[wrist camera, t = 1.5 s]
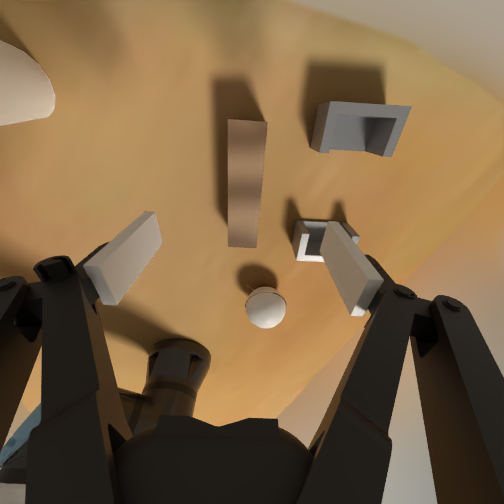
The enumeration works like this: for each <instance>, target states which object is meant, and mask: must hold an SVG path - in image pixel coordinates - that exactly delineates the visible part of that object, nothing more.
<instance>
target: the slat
mask: <svg viewBox="0 0 504 504" xmlns="http://www.w3.org/2000/svg"><path fill="white" fill-rule="evenodd" d="M267 123H268V122H264V121H251V120H238V119H228V247H244V248H256V246H257V235H258V224H259V213H260V202H261V190H262V179H263V168H264V157H265V146H266V134H267Z"/></svg>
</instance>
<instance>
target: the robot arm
mask: <svg viewBox="0 0 504 504" xmlns="http://www.w3.org/2000/svg"><path fill="white" fill-rule="evenodd" d="M161 245H162V239H161V234H160V230H159V225H158V221H157V217H156V212H148V211H145V212H144V213H143V214H142V215H140V216H139V217H138V218H137V219H136V220H135V221H133V222H132V223H131V224H130V225H129V226H128V227H127V228H125V229H124V230H123V231H122V232H121V233H120V234H118V235H117V236H116V237H115V238H114V239H113V240H112V241H110V242H107V243H105V244H103V245H101V246H99V247H98V248H96V249H95V250H94V251H93V252H92V253H90V254H89V255H88V256H87V257H86V258H84V259H83V260H82V261H81V262H80V263H78V264H77V265H76V266H74V265H73V263H72V261H71V259H70V258H69V257H68V256H54V257H50V258H47V259H44V260H42V261H40V262H39V263H37V264H36V265H35V266H34V268H33V269H34V271H35V272H36V274H37V275H38V277H39V278H40V279H41V281H42V282H35V283H28V282H27V281H26V280H25V279H24V278H23V277H21V276H14V277H8V278H3V279H1V280H0V468H1V467H2V468H1V470H0V504H381V502H382V497H383V492H384V487H385V482H386V477H387V472H388V467H389V462H390V457H391V451H392V440H391V439H390V437H389V436H388V430H389V425H390V420H391V416H392V412H393V407H394V403H395V398H396V394H397V389H398V385H399V380H400V376H401V371H402V367H403V362H404V358H405V354H406V350H407V345H408V340H409V336H410V340H411V347H412V353H413V359H414V365H415V371H416V377H417V383H418V389H419V395H420V400H421V406H422V413H423V419H424V425H425V430H426V437H427V443H428V449H429V455H430V461H431V467H432V473H433V479H434V485H435V491H436V497H437V503H438V504H504V377H503V375H502V374H501V372H500V370H499V368H498V366H497V364H496V362H495V360H494V358H493V356H492V354H491V352H490V350H489V348H488V346H487V344H486V342H485V340H484V338H483V336H482V334H481V332H480V330H479V328H478V326H477V324H476V322H475V320H474V318H473V316H472V314H471V313H470V311H469V309H468V308H467V307H466V306H465V305H463V304H462V303H461V302H460V301H458V300H456V299H454V298H451V297H449V296H444V295H438V296H436V297H435V298H434V300H433V301H429V300H425V299H421V298H418V297H417V295H416V294H415V293H414V292H413V291H412V290H411V289H409V288H407V287H405V286H402V285H399V284H396V283H395V282H394V281H393V280H392V279H391V277H390V276H389V275H388V274H387V273H386V272H385V270H384V269H383V268H382V267H381V266H380V264H379V263H378V262H377V261H376V260H375V259H374V258H372V257H371V256H369V255H364V254H363V253H362V251H361V250H360V249H359V248H358V246H357V245H356V244H355V243H354V241H353V240H352V239H351V238H350V236H349V235H348V234H347V232H346V231H345V230H344V229H343V227H342V226H341V225H340V224H339V222H335V221H328V223H327V227H326V230H325V234H324V237H323V241H322V244H321V248H320V253H321V255H322V257H323V259H324V261H325V264H326V266H327V268H328V270H329V272H330V274H331V276H332V278H333V280H334V282H335V284H336V286H337V289H338V291H339V293H340V295H341V297H342V299H343V301H344V303H345V305H346V307H347V309H348V311H349V314H350V316H364V315H365V313H366V311H367V310H369V312H370V313H371V316H370V318H369V320H368V321H367V323H366V325H365V326H364V328H365V329H364V331H363V333H362V335H361V337H360V340H359V342H358V344H357V346H356V348H355V350H354V353H353V355H352V357H351V359H350V361H349V363H348V366H347V368H346V370H345V372H344V374H343V376H342V379H341V381H340V383H339V385H338V387H337V389H336V392H335V394H334V396H333V398H332V401H331V403H330V405H329V407H328V409H327V411H326V413H325V416H324V418H323V420H322V422H321V424H320V426H319V428H318V430H317V432H316V434H315V436H314V438H313V440H312V442H311V444H310V446H309V448H308V449H307V448H306V447H305V445H304V444H302V442H301V441H300V440H298V439H297V438H296V437H295V436H293V435H292V434H291V433H289V432H288V431H286V430H284V429H281V428H279V427H278V419H265V418H247V419H244V420H241V421H237V422H234V423H231V424H227V425H224V426H220V427H216V426H213V425H211V424H208V423H206V422H203V421H201V420H198V419H195V418H193V412H194V406H195V401H196V396H197V392H198V390H199V388H200V386H201V384H202V382H203V380H204V378H205V376H206V374H207V372H208V370H209V367H210V362H211V355H210V353H209V352H208V350H207V349H205V348H204V347H203V346H201V345H199V344H197V343H195V342H192V341H188V340H183V339H168V340H163V341H160V342H158V343H157V344H155V345H154V346H153V348H152V350H151V352H150V355H149V357H148V364H147V374H146V383H145V387H144V389H143V392H142V394H139V393H136V392H132V391H129V390H125V389H122V388H118V387H117V383H116V379H115V375H114V371H113V367H112V363H111V359H110V355H109V352H108V348H107V344H106V340H105V336H104V332H103V328H102V324H101V320H100V316H99V312H98V309H97V306H96V304H95V302H96V301H97V299H98V298H99V297H100V299H101V301H102V303H103V305H118V304H119V302H120V301H121V300H122V298H123V297H124V295H125V294H126V293H127V291H128V290H129V289H130V287H131V286H132V284H133V283H134V282H135V280H136V279H137V278H138V276H139V275H140V273H141V272H142V271H143V269H144V268H145V267H146V265H147V264H148V262H149V261H150V260H151V258H152V257H153V256H154V254H155V253H156V251H157V250H158V249H159V247H160V246H161ZM41 346H42V380H41V403H40V404H39V405H38V406H37V407H36V409H35V410H34V411H33V412H32V413H31V414H30V415H29V417H28V418H27V419H26V420H25V421H24V422H23V423H22V425H21V426H20V427H19V428H18V429H17V430H16V432H15V433H14V434H13V436H12V437H11V438H10V439H9V440H8V442H7V443H6V444H5V445H4V442H5V440H6V437H7V435H8V431H9V429H10V427H11V424H12V421H13V419H14V416H15V414H16V411H17V408H18V406H19V403H20V400H21V398H22V395H23V393H24V390H25V387H26V385H27V382H28V380H29V377H30V374H31V372H32V369H33V367H34V364H35V361H36V359H37V356H38V353H39V351H40V348H41ZM3 445H4V446H3Z"/></svg>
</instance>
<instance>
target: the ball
mask: <svg viewBox="0 0 504 504" xmlns="http://www.w3.org/2000/svg"><path fill="white" fill-rule="evenodd" d="M247 286H248V285H247ZM248 287H249V286H248ZM245 307H246V313H247V316H248V318H249V319H250V321H251V322H252V323H253V324H255V325H256V326H258V327H261V328H272V327H274V326H276V325H277V324H279V323H280V322H281V321H282V319H283V317H284V315H285V312H286V301H285V300H284V298H283V296H282V295H281V294H280V293H279V292H278V291H277V290H276V289H274V288H271V287H260V288H257V289H255V290H253V292H252V293H251V294H250V295H249V296H248V298H247V301H246V304H245Z"/></svg>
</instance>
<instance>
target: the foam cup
mask: <svg viewBox="0 0 504 504" xmlns="http://www.w3.org/2000/svg"><path fill="white" fill-rule="evenodd" d="M55 97H56V96H55V93H54V90H53V87H52V84H51V82H50V79H49V78H48V76H47V75H46V74H45V72H44V71H43V69H42V68H41V66H40V65H39V64H38V63H37V62H36V61H35V60H34V59H32V58H31V57H30V56H29V55H28V54H26V53H25V52H24V51H22V50H20V49H18V48H16V47H14V46H12V45H10V44H8V43H5V42H3V41H1V40H0V126H3V125H8V124H14V123H19V122H25V121H30V120H36V119H41V118H45V117H49V116H50V114H51V113H52V112H53V111H54V109H55Z"/></svg>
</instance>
